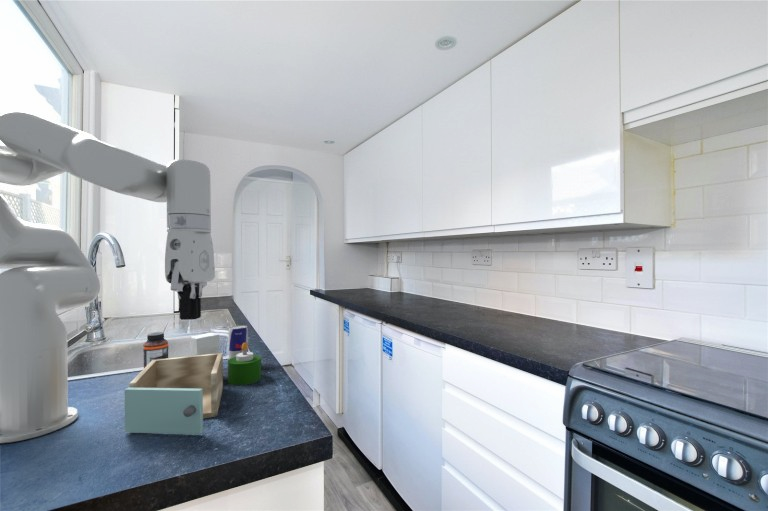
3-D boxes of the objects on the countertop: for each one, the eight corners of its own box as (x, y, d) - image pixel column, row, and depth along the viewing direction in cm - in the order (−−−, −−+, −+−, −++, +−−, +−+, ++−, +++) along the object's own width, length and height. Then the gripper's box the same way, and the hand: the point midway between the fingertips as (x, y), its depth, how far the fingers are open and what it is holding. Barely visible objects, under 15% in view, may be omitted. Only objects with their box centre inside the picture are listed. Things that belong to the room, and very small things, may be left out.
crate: (129, 430, 65) (129, 383, 65) (152, 398, 80) (152, 360, 80) (216, 416, 70) (216, 372, 70) (223, 388, 85) (222, 352, 85)
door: (119, 435, 62) (119, 392, 62) (129, 429, 64) (128, 387, 64) (195, 437, 61) (195, 393, 61) (203, 431, 63) (202, 388, 63)
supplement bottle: (146, 370, 99) (146, 332, 99) (170, 368, 102) (170, 330, 102) (140, 377, 94) (140, 336, 94) (165, 374, 96) (165, 334, 96)
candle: (233, 374, 95) (233, 339, 95) (264, 373, 96) (263, 338, 96) (223, 386, 87) (223, 347, 87) (256, 384, 88) (256, 345, 88)
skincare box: (212, 374, 95) (212, 332, 95) (220, 377, 93) (220, 334, 93) (189, 381, 90) (189, 336, 91) (197, 384, 88) (197, 338, 88)
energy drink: (241, 370, 99) (240, 329, 99) (224, 369, 100) (224, 328, 100) (251, 364, 104) (251, 325, 104) (236, 363, 105) (235, 325, 105)
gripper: (187, 221, 59) (188, 326, 59) (225, 228, 74) (226, 312, 74) (143, 221, 59) (145, 327, 59) (191, 228, 74) (192, 312, 74)
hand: (190, 318), depth 66 cm, fingers closed
